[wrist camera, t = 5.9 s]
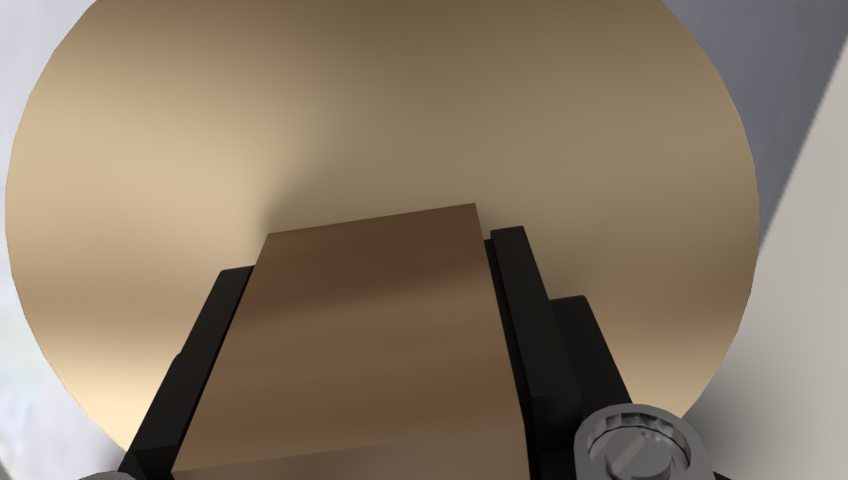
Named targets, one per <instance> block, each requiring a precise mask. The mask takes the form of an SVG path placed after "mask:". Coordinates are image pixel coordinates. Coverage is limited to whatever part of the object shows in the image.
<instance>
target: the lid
mask: <svg viewBox="0 0 848 480" xmlns="http://www.w3.org/2000/svg"><path fill="white" fill-rule="evenodd" d="M759 216H760V207H759V199H758V191H757V182H756V174H755V166H754V162H753V158H752V155H751V151H750V148H749V144H748V141H747V137H746V134H745V131H744V127H743V124H742V120H741V118H740V116H739V114H738V111H737V109H736V107H735V105H734V103H733V101H732V99H731V97H730V95H729V92H728V90H727V88H726V86H725V84H724V82H723V80H722V78H721V76H720V74H719V72H718V71H717V70H716V68H715V67H714V65H713V64H712V62H711V61H710V59H709V58H708V57H707V55H706V54H705V52H704V51H703V49H702V48H701V46H700V45H699V43H698V42H697V41H696V39H695V38H694V36H693V35H692V33H691V32H690V31H689V30H688V29H687V28H686V27H685V26H684V25H683V23H682V22H681V21H680V20H679V19H678V18H677V17H676V16H675V15H674V14H673V13H672V12H671V11H670V10H669V9H668V8H667V7H666V6H665V5H664V4H663V3H662V2H661V1H660V0H97V1H96V2H94V3H93V4H92V5H91V6H90V7H89V8H88V9H87V10H86V11H85V13H84V14H83V15H82V16H81V18H80V19H79V20H78V21H77V23H76V24H75V25H74V26H73V28H72V29H71V30H70V31H69V33H68V34H67V35H66V36H65V38H64V39H63V40H62V41H61V43H60V44H59V45H58V46H57V48H56V49H55V50H54V52H53V54H52V56H51V57H50V59H49V61H48V63H47V65H46V66H45V68H44V70H43V72H42V74H41V75H40V77H39V79H38V81H37V83H36V84H35V86H34V88H33V90H32V92H31V93H30V95H29V98H28V101H27V104H26V107H25V110H24V112H23V115H22V118H21V121H20V124H19V127H18V130H17V132H16V135H15V138H14V141H13V147H12V153H11V158H10V164H9V170H8V176H7V182H6V208H5V233H6V240H7V246H8V253H9V259H10V265H11V272H12V277H13V280H14V283H15V287H16V290H17V293H18V296H19V299H20V303H21V306H22V309H23V312H24V315H25V318H26V320H27V322H28V324H29V326H30V328H31V330H32V333H33V335H34V337H35V339H36V341H37V343H38V345H39V347H40V349H41V351H42V354H43V355H44V357H45V358H46V360H47V361H48V363H49V364H50V366H51V368H52V369H53V371H54V372H55V374H56V375H57V377H58V378H59V380H60V381H61V383H62V384H63V386H64V388H65V389H66V390H67V391H68V392H69V394H70V395H71V396H72V397H73V398H74V400H75V401H76V402H77V403H78V404H79V406H80V407H81V408H82V409H83V410H84V411H85V413H86V414H87V415H88V416H89V417H90V419H91V420H92V421H93V422H94V423H96V424H97V425H98V426H99V427H100V428H101V429H102V430H103V431H104V432H105V433H106V434H107V435H108V436H109V437H110V438H111V439H112V440H114V441H115V442H116V443H117V444H118V445H119V446H120V447H121V448H123V449H124V450H125V451H128V449H129V447H130V445H131V443H132V441H133V439H134V437H135V435H136V433H137V431H138V429H139V427H140V425H141V423H142V421H143V419H144V417H145V415H146V413H147V411H148V409H149V407H150V405H151V403H152V401H153V399H154V397H155V395H156V393H157V391H158V389H159V387H160V385H161V383H162V381H163V379H164V377H165V375H166V373H167V371H168V369H169V367H170V365H171V363H172V361H173V359H174V358H175V357H176V355H177V354H179V353H180V352H181V350H182V348H183V346H184V344H185V342H186V340H187V338H188V336H189V334H190V332H191V330H192V328H193V326H194V324H195V321H196V319H197V317H198V315H199V313H200V311H201V309H202V307H203V305H204V303H205V301H206V299H207V297H208V295H209V293H210V291H211V289H212V287H213V285H214V283H215V281H216V279H217V277H218V275H219V273H220V272H221V270H225V269H232V268H238V267H245V266H252V265H255V267H254V269H253V272H252V274H251V276H250V279H249V281H248V284H247V286H246V289H245V291H244V294H243V296H242V299H241V301H240V303H239V306H238V308H237V311H236V313H235V316H234V318H233V321H232V323H231V325H230V328H229V330H228V333H227V335H226V338H225V340H224V343H223V345H222V348H221V350H220V352H219V355H218V357H217V360H216V362H215V365H214V367H213V370H212V372H211V375H210V377H209V379H208V382H207V384H206V387H205V389H204V392H203V394H202V397H201V399H200V401H199V404H198V406H197V409H196V411H195V414H194V416H193V419H192V421H191V424H190V426H189V428H188V431H187V433H186V436H185V438H184V441H183V443H182V446H181V448H180V451H179V453H178V455H177V458H176V460H175V463H174V465H173V468H172V470H171V473H172V475H173V477H174V479H175V480H530V475H529V465H528V456H527V447H526V438H525V429H524V423H523V418H522V413H521V409H520V404H519V400H518V395H517V391H516V386H515V382H514V377H513V372H512V368H511V363H510V359H509V354H508V350H507V345H506V341H505V336H504V331H503V327H502V322H501V318H500V313H499V309H498V304H497V300H496V295H495V290H494V286H493V281H492V277H491V272H490V268H489V263H488V259H487V254H486V249H485V245H484V240H486V239H491V236H490V230H495V229H502V228H508V227H515V226H522V225H523V227H524V229H525V232H526V235H527V238H528V241H529V243H530V246H531V249H532V252H533V255H534V258H535V261H536V264H537V267H538V269H539V272H540V275H541V278H542V281H543V284H544V287H545V290H546V293H547V295H548V298H549V300H550V299H557V298H564V297H571V296H578V295H584V296H585V297H586V299H587V300H588V302H589V305H590V307H591V309H592V311H593V314H594V316H595V318H596V320H597V323H598V325H599V327H600V329H601V332H602V334H603V336H604V339H605V341H606V343H607V345H608V348H609V350H610V352H611V354H612V357H613V359H614V361H615V364H616V366H617V368H618V370H619V373H620V375H621V377H622V379H623V382H624V384H625V386H626V388H627V391H628V393H629V395H630V398H631V400H632V402H633V404H646V405H650V406H654V407H657V408H660V409H664V410H667V411H668V412H670V413H672V414H674V415H676V416H677V417H679V418H681V417H682V416H683V415H684V414H685V413H686V412H687V410H688V409H689V408H690V407H691V406H692V405H693V404H694V402H695V401H696V400H697V399H698V398H699V396H700V395H701V393H702V392H703V390H704V389H705V387H706V386H707V384H708V383H709V381H710V380H711V378H712V377H713V375H714V374H715V373H716V371H717V370H718V368H719V367H720V365H721V363H722V361H723V359H724V357H725V355H726V353H727V351H728V349H729V347H730V345H731V343H732V341H733V338H734V337H735V335H736V333H737V331H738V328H739V325H740V322H741V319H742V316H743V313H744V311H745V308H746V305H747V302H748V299H749V296H750V293H751V288H752V282H753V277H754V272H755V267H756V261H757V256H758V245H759Z"/></svg>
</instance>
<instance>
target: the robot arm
mask: <svg viewBox="0 0 848 480" xmlns="http://www.w3.org/2000/svg"><path fill="white" fill-rule="evenodd" d="M490 236H491V239H486V240H484V245H485V249H486V254H487V259H488V263H489V268H490V272H491V277H492V281H493V286H494V290H495V295H496V300H497V304H498V309H499V313H500V318H501V322H502V327H503V331H504V336H505V341H506V345H507V350H508V354H509V359H510V363H511V368H512V372H513V377H514V382H515V386H516V391H517V395H518V400H519V404H520V409H521V413H522V418H523V423H524V429H525V438H526V447H527V456H528V465H529V475H530V480H731V479H729V478H727V477H725V476H722V475H720V474H718V473H716V472H714V471H712V468H711V465H710V462H709V459H708V456H707V453H706V450H705V448H704V445H703V443H702V442H701V440H700V438H699V436H698V434H697V433H696V431H695V430H693V429H692V428H691V427H690V426H689V425H688V424H687V423H686V422H685V421H684V420H683V419H681V418H679V417H677V416H676V415H674V414H672V413H670V412H668V411H667V410H664V409H660V408H657V407H654V406H650V405H646V404H633V402H632V400H631V398H630V395H629V393H628V391H627V388H626V386H625V384H624V382H623V379H622V377H621V375H620V373H619V370H618V368H617V366H616V364H615V361H614V359H613V357H612V354H611V352H610V350H609V348H608V345H607V343H606V341H605V339H604V336H603V334H602V332H601V329H600V327H599V325H598V323H597V320H596V318H595V316H594V314H593V311H592V309H591V307H590V305H589V302H588V300H587V299H586V297H585V296H584V295H578V296H571V297H564V298H557V299H550V300H549V298H548V295H547V293H546V290H545V287H544V284H543V281H542V278H541V275H540V272H539V269H538V267H537V264H536V261H535V258H534V255H533V252H532V249H531V246H530V243H529V241H528V238H527V235H526V232H525V229H524V227H523V225H522V226H515V227H508V228H502V229H495V230H490ZM254 267H255V265H252V266H245V267H238V268H232V269H225V270H221V272H220V273H219V275H218V277H217V279H216V281H215V283H214V285H213V287H212V289H211V291H210V293H209V295H208V297H207V299H206V301H205V303H204V305H203V307H202V309H201V311H200V313H199V315H198V317H197V319H196V321H195V324H194V326H193V328H192V330H191V332H190V334H189V336H188V338H187V340H186V342H185V344H184V346H183V348H182V350H181V352H180V353H179V354H177V355H176V357H175V358H174V359H173V361H172V363H171V365H170V367H169V369H168V371H167V373H166V375H165V377H164V379H163V381H162V383H161V385H160V387H159V389H158V391H157V393H156V395H155V397H154V399H153V401H152V403H151V405H150V407H149V409H148V411H147V413H146V415H145V417H144V419H143V421H142V423H141V425H140V427H139V429H138V431H137V433H136V435H135V437H134V439H133V441H132V443H131V445H130V447H129V449H128V451H127V453H126V455H125V457H124V459H123V461H122V463H121V465H120V467H119V469H118V471H117V472H116V471H111V472H102V473H96V474H93V475H90V476H87V477H84V478H81V479H79V480H175V479H174V477H173V475H172V473H171V470H172V468H173V465H174V463H175V460H176V458H177V455H178V453H179V451H180V448H181V446H182V443H183V441H184V438H185V436H186V433H187V431H188V428H189V426H190V424H191V421H192V419H193V416H194V414H195V411H196V409H197V406H198V404H199V401H200V399H201V397H202V394H203V392H204V389H205V387H206V384H207V382H208V379H209V377H210V375H211V372H212V370H213V367H214V365H215V362H216V360H217V357H218V355H219V352H220V350H221V348H222V345H223V343H224V340H225V338H226V335H227V333H228V330H229V328H230V325H231V323H232V321H233V318H234V316H235V313H236V311H237V308H238V306H239V303H240V301H241V299H242V296H243V294H244V291H245V289H246V286H247V284H248V281H249V279H250V276H251V274H252V272H253V269H254Z"/></svg>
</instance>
